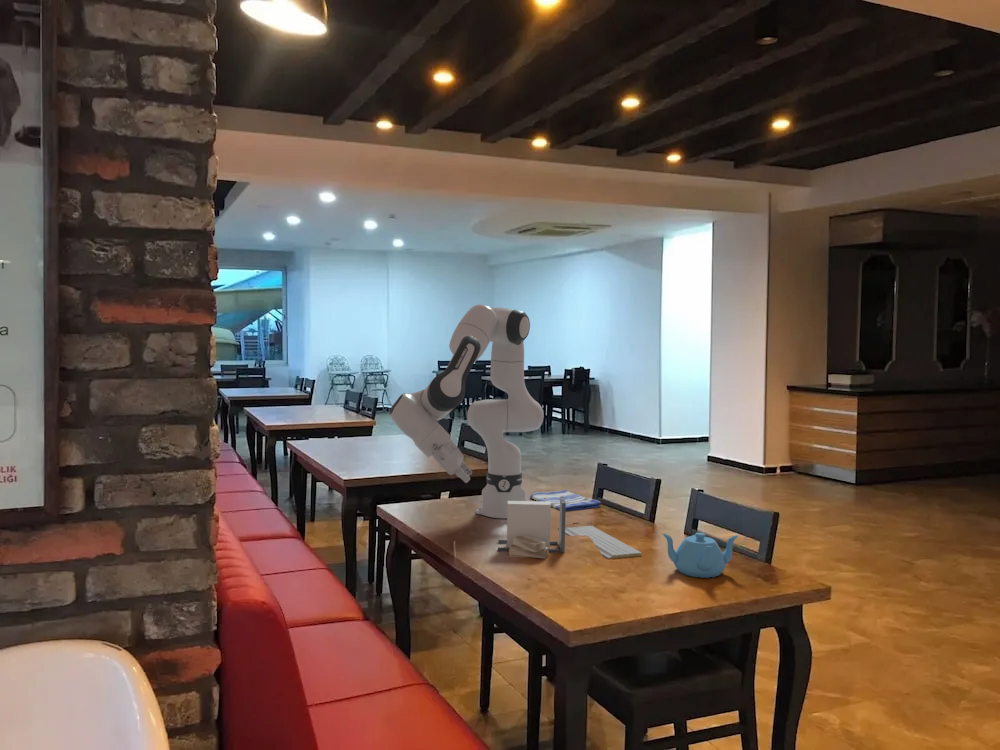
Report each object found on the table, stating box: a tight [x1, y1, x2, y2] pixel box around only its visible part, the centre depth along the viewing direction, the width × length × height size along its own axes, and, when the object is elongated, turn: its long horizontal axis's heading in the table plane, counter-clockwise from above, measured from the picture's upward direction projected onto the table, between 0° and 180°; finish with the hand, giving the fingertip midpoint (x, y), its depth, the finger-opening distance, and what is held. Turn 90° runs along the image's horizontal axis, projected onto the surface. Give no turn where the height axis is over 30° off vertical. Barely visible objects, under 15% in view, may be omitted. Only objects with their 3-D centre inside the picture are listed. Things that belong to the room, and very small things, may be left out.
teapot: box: [661, 532, 739, 579], centre depth 201 cm, size 15×15×10 cm
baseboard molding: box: [557, 522, 643, 560], centre depth 228 cm, size 31×3×12 cm
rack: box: [497, 496, 567, 554], centre depth 217 cm, size 9×18×15 cm, turn 89°
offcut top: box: [513, 535, 546, 552], centre depth 210 cm, size 4×9×2 cm, turn 39°
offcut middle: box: [508, 545, 550, 560], centre depth 210 cm, size 4×10×2 cm, turn 72°
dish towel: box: [529, 489, 602, 512], centre depth 281 cm, size 17×24×3 cm
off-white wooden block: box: [506, 500, 552, 549], centre depth 217 cm, size 4×12×14 cm, turn 89°
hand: (469, 477), depth 216 cm, fingers open, 8 cm apart
